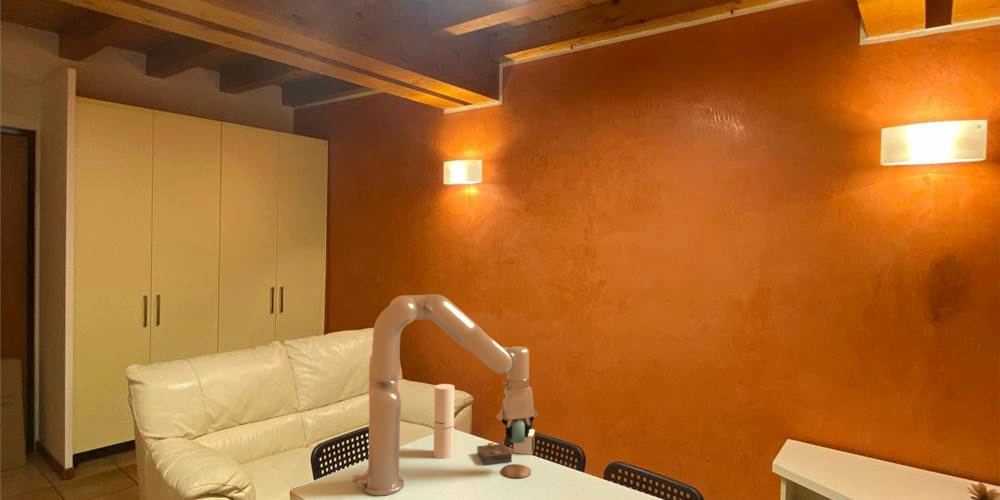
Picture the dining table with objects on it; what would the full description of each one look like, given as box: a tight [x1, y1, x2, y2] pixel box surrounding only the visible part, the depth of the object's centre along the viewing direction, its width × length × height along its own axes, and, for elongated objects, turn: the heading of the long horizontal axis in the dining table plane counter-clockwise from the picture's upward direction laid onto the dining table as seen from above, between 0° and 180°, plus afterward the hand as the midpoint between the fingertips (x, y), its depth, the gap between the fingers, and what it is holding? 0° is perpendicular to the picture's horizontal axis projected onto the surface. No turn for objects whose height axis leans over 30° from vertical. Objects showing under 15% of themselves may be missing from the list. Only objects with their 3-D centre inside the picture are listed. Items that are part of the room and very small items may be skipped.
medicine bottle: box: [512, 420, 536, 456], centre depth 189 cm, size 7×7×12 cm
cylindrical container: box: [433, 383, 455, 460], centre depth 184 cm, size 7×7×25 cm
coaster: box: [501, 463, 532, 480], centre depth 170 cm, size 10×10×1 cm
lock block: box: [476, 442, 513, 466], centre depth 182 cm, size 10×10×4 cm
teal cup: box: [509, 418, 525, 444], centre depth 171 cm, size 5×5×7 cm
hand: (517, 436), depth 170 cm, fingers closed on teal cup, 5 cm apart
